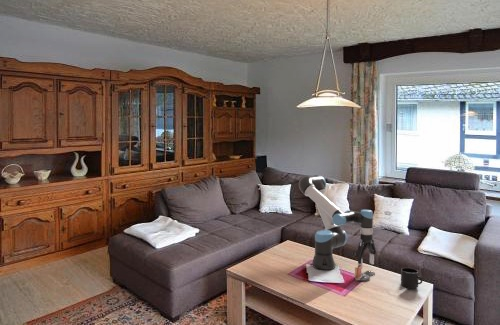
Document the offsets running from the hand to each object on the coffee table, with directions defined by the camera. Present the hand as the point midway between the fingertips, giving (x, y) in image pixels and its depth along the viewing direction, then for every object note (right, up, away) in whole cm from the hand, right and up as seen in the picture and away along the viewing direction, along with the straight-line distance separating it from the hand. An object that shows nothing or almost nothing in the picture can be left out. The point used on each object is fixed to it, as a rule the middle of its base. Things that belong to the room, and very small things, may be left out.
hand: (366, 266), depth 227 cm
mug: (+20, -6, -21) cm, 30 cm away
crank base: (-6, -5, -10) cm, 13 cm away
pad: (0, -5, 0) cm, 5 cm away
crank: (-7, -3, -12) cm, 15 cm away
